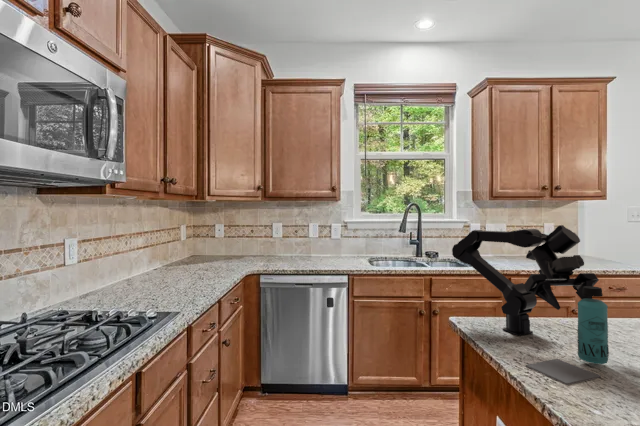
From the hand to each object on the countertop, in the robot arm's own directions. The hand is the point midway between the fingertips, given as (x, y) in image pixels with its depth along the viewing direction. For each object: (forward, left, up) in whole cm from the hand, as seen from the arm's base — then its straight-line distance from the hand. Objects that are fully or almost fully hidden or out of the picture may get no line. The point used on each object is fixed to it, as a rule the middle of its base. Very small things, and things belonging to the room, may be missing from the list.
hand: (575, 308), depth 100 cm
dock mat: (+6, -13, -13) cm, 19 cm away
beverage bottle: (+6, -2, -13) cm, 14 cm away
